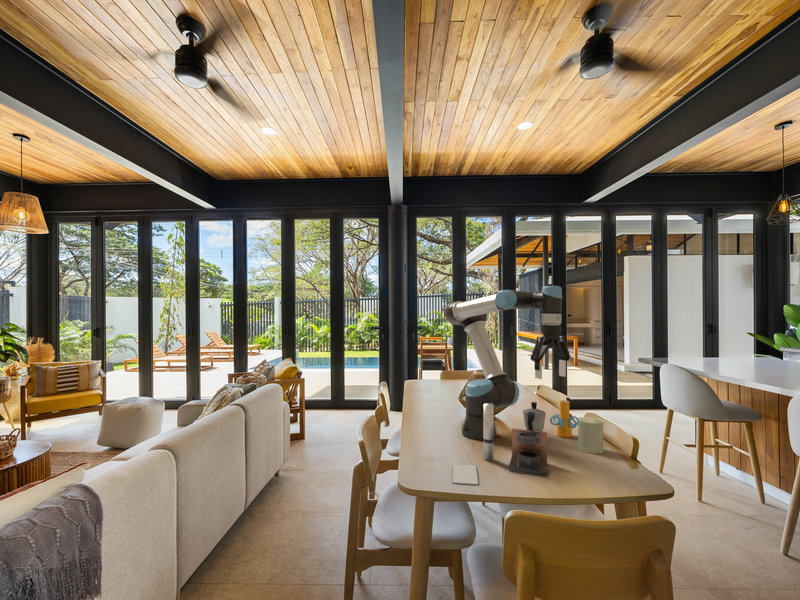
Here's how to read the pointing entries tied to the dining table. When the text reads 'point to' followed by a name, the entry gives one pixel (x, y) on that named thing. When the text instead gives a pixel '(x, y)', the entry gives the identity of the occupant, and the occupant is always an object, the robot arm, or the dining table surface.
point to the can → (590, 435)
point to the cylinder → (564, 420)
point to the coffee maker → (534, 418)
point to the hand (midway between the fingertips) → (550, 377)
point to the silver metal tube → (488, 431)
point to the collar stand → (529, 452)
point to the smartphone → (464, 474)
